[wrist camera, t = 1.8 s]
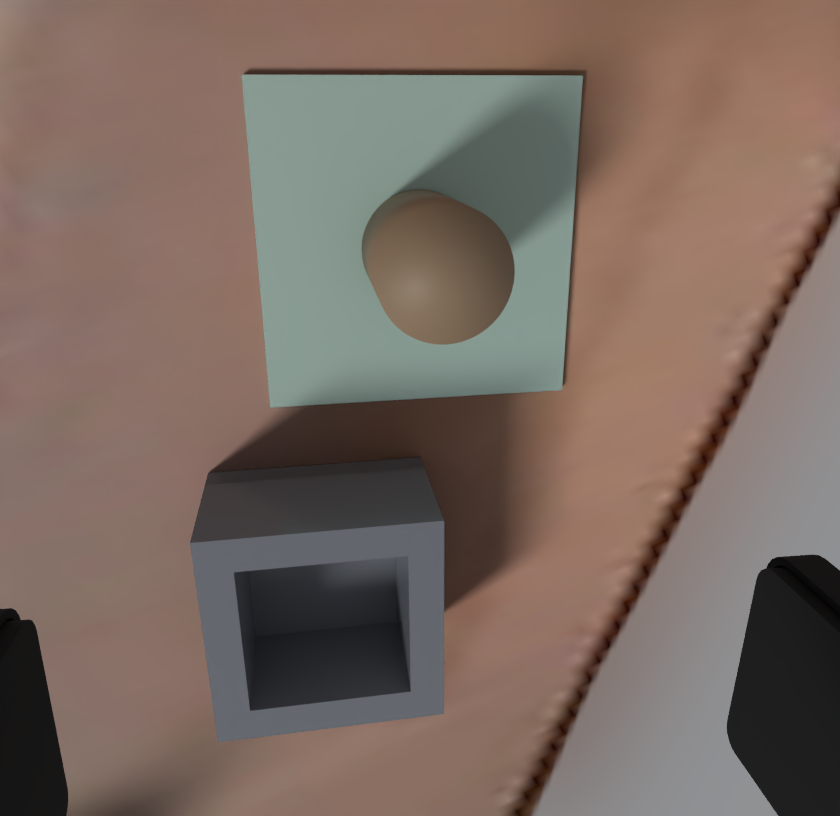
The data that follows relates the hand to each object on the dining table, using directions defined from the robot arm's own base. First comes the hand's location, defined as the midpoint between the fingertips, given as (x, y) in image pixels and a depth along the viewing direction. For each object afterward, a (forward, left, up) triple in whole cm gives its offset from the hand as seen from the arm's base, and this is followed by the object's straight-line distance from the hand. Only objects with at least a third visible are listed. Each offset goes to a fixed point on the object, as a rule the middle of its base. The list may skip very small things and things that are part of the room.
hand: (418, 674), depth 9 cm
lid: (-3, +3, -19) cm, 19 cm away
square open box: (+9, -1, -18) cm, 20 cm away
